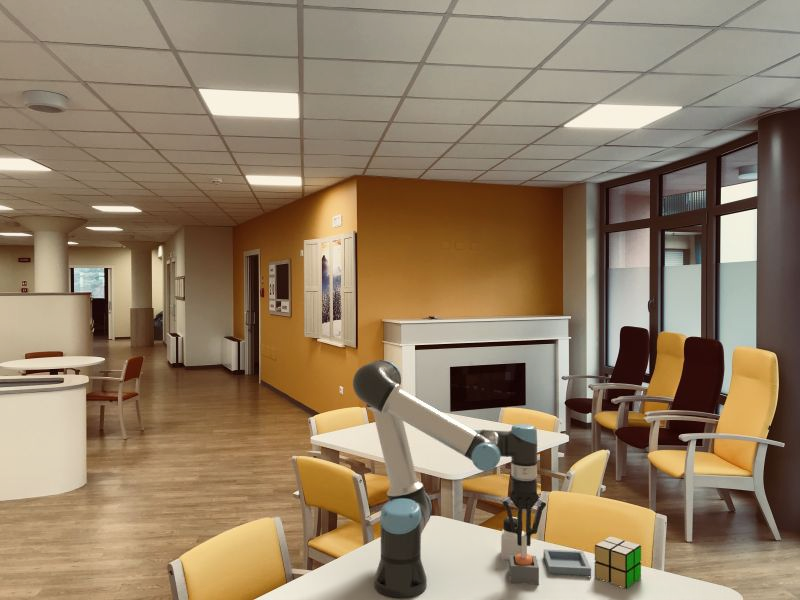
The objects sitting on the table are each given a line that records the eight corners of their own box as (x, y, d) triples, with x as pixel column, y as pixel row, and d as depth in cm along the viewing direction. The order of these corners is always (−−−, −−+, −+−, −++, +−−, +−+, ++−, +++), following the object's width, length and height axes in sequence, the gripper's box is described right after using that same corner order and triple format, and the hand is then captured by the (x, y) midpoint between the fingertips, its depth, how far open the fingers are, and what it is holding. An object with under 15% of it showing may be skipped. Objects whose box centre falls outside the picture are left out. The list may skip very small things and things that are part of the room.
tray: (548, 574, 184) (548, 566, 184) (543, 557, 197) (543, 549, 197) (591, 576, 183) (591, 568, 183) (583, 558, 195) (583, 551, 195)
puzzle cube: (609, 567, 190) (610, 535, 190) (641, 578, 182) (641, 545, 182) (593, 578, 183) (594, 544, 182) (626, 589, 175) (626, 554, 175)
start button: (515, 568, 180) (515, 560, 180) (514, 561, 185) (514, 553, 185) (533, 569, 180) (533, 560, 180) (531, 562, 185) (531, 553, 185)
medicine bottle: (524, 561, 193) (524, 523, 193) (501, 559, 195) (501, 522, 195) (524, 552, 200) (524, 516, 200) (501, 550, 202) (502, 514, 202)
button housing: (511, 583, 179) (511, 566, 179) (509, 570, 187) (509, 554, 187) (538, 584, 178) (538, 567, 178) (535, 572, 186) (535, 555, 186)
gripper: (502, 480, 179) (502, 560, 179) (548, 481, 178) (547, 562, 178) (501, 472, 187) (500, 549, 187) (544, 474, 185) (544, 551, 185)
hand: (523, 556), depth 182 cm, fingers closed
